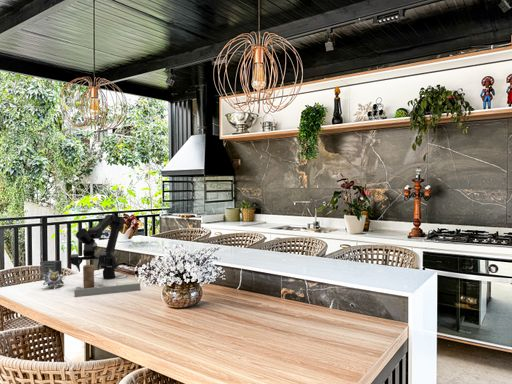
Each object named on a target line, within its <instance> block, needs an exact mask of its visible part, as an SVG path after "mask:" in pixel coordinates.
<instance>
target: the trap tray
mask: <svg viewBox="0 0 512 384" xmlns="http://www.w3.org/2000/svg"><path fill="white" fill-rule="evenodd" d="M138 281H139V280H138ZM138 281H135V280H134V281H126V282H125V281H124V282H118V283H117V282H116V284H115V285H108V286H107V285H105V286H103V284H98V286H97V287H95V286H94V288H85V289H84V288H81V286H77V287H76V288H75V289H74V292H73V293H74V295H73V296H74V297H75V298H77V297H88V296H96V295H97V296H98V295H105V294H114V293H115V294H118V293H124V292H134V291H141V283H140V282H139V283H138Z"/></svg>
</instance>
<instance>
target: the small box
mask: <svg viewBox="0 0 512 384" xmlns="http://www.w3.org/2000/svg"><path fill="white" fill-rule="evenodd" d="M39 263H40V280H43V279H42V277H41V276H43V274H45V275H46V274H47V273H48V272H49V270H51V271H53V273H54V272H56V271H58V274H59V275H61V274H62V275H63V270H62V269H63V268H62V266H63V265H62V260H44V261H41V262H39ZM43 278H44V277H43Z"/></svg>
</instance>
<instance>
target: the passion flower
mask: <svg viewBox="0 0 512 384" xmlns="http://www.w3.org/2000/svg"><path fill="white" fill-rule="evenodd" d="M41 277H42V279H41V280H42V281H44V282H43V283H42V285H43V286H49V287H48V288H49V289H51V288H52V289H54V288H55V289H56V288H57V286H58V285H59V286H63V285H64V281H63V280H65V277H63V273H62V274H61V275H59V274H58V271H56V272H54V273H53V271H51V270H49V272H48V273H47V274H46V275H45V274H43V276H41V275H40V278H41ZM43 277H44V278H43Z"/></svg>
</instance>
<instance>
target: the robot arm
mask: <svg viewBox="0 0 512 384" xmlns="http://www.w3.org/2000/svg"><path fill="white" fill-rule="evenodd" d="M125 221H126V220H125V219H124V217H123V216H119V215H118V216H117V215H114V214H106V215H105V217H104V218H103V219H101V220H100V222H98V223H97V224H96V225H95V226H92V227H90V228H89V229H87V228H83V227H82V228H81V229H80V230H78V231H77V232H76V233H75V237H76V238H77V240H78V241H79V242H80V243H81V244H84V245H83V252H82V254H83V255H79V254H78V253H74V254H73V253H72V254H70V257H69V259H70V265H73V266H75V267H76V269H77V270H78V273H80V272H81V266H80V261H93V260H98V262H97V271H99V270H100V269H103V270H102V278H103V280H105V279H106V280H108V279H115V278H116V270H115V269H117V268H118V265H119V263H118V262H117V260H116V255H115V248H116V246H117V241H118V237H119V234H120V233H119V232H120V230H122V229H123V227H124V224H125ZM107 227H110V232H109V235H108V240H107V244H106V248H105V251H103V252H102V251H101V252H99V255H96V251H97V250H98V243H97V242H96V240H98V239H99V240H100V239H101V237H102V236H103V235H104V233H103V232H104V230H106V229H107Z"/></svg>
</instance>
